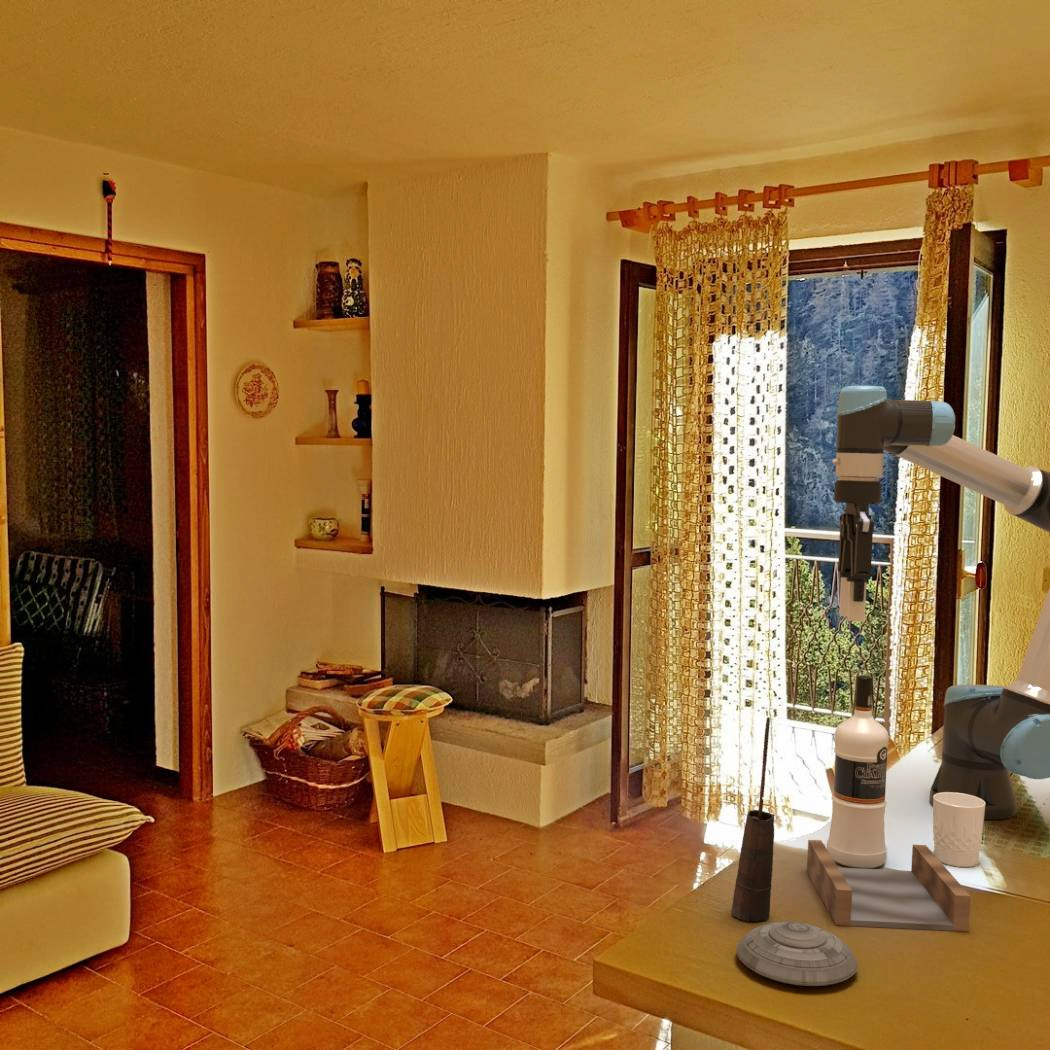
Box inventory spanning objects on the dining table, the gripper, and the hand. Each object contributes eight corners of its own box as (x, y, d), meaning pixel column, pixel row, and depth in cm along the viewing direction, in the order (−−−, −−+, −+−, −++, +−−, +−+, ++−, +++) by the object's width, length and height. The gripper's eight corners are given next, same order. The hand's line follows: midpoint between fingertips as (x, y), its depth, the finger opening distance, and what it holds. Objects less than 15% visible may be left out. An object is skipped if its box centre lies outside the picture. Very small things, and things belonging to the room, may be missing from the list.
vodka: (852, 846, 186) (860, 668, 184) (898, 864, 178) (907, 678, 176) (813, 855, 181) (822, 672, 179) (859, 874, 173) (868, 683, 171)
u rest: (806, 871, 174) (808, 839, 174) (924, 876, 173) (925, 845, 173) (835, 925, 154) (837, 889, 154) (968, 931, 153) (970, 896, 153)
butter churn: (761, 939, 149) (770, 732, 147) (702, 917, 155) (710, 719, 154) (797, 919, 155) (806, 721, 154) (738, 899, 162) (746, 709, 160)
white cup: (983, 872, 176) (986, 809, 175) (929, 864, 178) (933, 803, 178) (981, 855, 183) (984, 795, 182) (930, 848, 186) (933, 789, 185)
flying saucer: (882, 988, 136) (884, 944, 136) (772, 1002, 132) (774, 957, 132) (816, 936, 151) (818, 897, 150) (715, 947, 147) (717, 907, 146)
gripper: (823, 477, 195) (817, 610, 196) (848, 480, 177) (841, 625, 178) (867, 478, 194) (861, 611, 196) (896, 481, 176) (889, 627, 178)
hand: (851, 618), depth 187 cm, fingers open, 5 cm apart
